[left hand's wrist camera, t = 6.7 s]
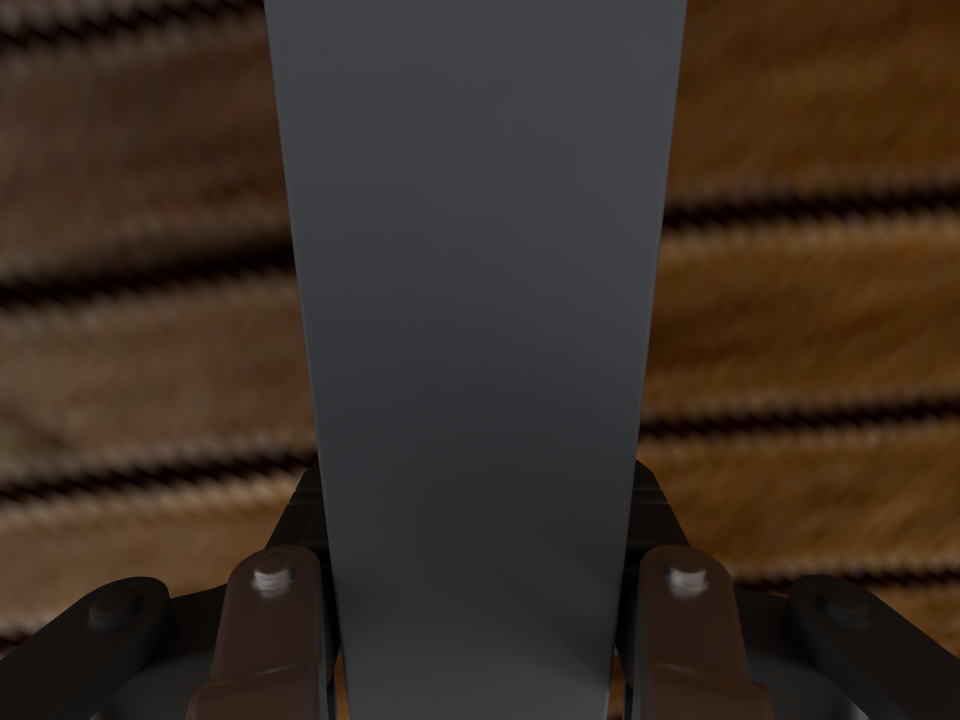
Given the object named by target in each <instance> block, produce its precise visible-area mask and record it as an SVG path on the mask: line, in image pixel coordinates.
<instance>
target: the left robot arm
mask: <svg viewBox="0 0 960 720" xmlns="http://www.w3.org/2000/svg"><path fill="white" fill-rule="evenodd" d="M614 655H619V659H620V663H621V666H622V670H623V674H624V677H625V685H624V696H623V718H622V720H868V717H869V718H870V719H871V720H960V660H959V659H957V658H956V657H955V656H953V655H952V654H951V653H950V652H948V651H947V650H946V649H944V648H943V647H942V646H940V645H939V644H938V643H936V642H935V641H934V640H933V639H931V638H930V637H929V636H927V635H926V634H925V633H923V632H922V631H921V630H919V629H918V628H917V627H916V626H914V625H913V624H912V623H910V622H909V621H908V620H906V619H905V618H904V617H903V616H901V615H900V614H899V613H897V612H896V611H895V610H893V609H892V608H891V607H889V606H888V605H887V604H886V603H884V602H883V601H882V600H880V599H879V598H878V597H876V596H875V595H873V594H872V593H870V592H869V591H867V590H865V589H864V588H862V587H860V586H858V585H856V584H853V583H851V582H848V581H846V580H843V579H839V578H836V577H831V576H825V575H809V576H804V577H801V578H799V579H797V580H796V581H794V582H793V584H792V585H791V587H790V590H789V594H788V598H784V597H779V596H775V595H771V594H766V593H762V592H758V591H754V590H749V589H746V588H742V587H739V586H736V585H734V584H733V582H732V579H731V576H730V575H729V573H728V571H727V570H726V569H725V568H724V566H723V565H722V564H721V563H719V562H718V561H717V560H716V559H714V558H713V557H711V556H710V555H708V554H706V553H704V552H702V551H700V550H697V549H694V548H691V546H690V544H689V542H688V540H687V539H686V537H685V535H684V533H683V531H682V529H681V527H680V525H679V523H678V521H677V519H676V517H675V515H674V513H673V511H672V509H671V507H670V505H669V504H667V500H666V498H665V496H664V494H663V492H662V491H661V490H660V486H659V484H658V482H657V480H656V478H655V476H654V474H653V472H651V471H650V470H649V469H648V468H647V467H645V466H644V465H643V464H642V463H640V462H639V461H638V460H637V459H636V462H635V471H634V480H633V489H632V498H631V507H630V516H629V525H628V534H627V542H626V551H625V560H624V569H623V578H622V587H621V596H620V605H619V614H618V623H617V632H616V640H615V649H614ZM337 656H342V649H341V641H340V633H339V624H338V616H337V608H336V599H335V591H334V583H333V574H332V566H331V558H330V549H329V541H328V533H327V524H326V516H325V508H324V499H323V491H322V483H321V474H320V466H319V461H318V462H317V463H316V464H315V465H313V466H312V467H311V468H310V469H308V470H307V471H306V472H305V473H304V474H303V476H302V478H301V480H300V482H299V484H298V486H297V488H296V492H294V493H293V495H292V497H291V499H290V501H289V505H287V507H286V509H285V511H284V512H283V514H282V516H281V518H280V520H279V522H278V524H277V526H276V528H275V530H274V532H273V534H272V535H271V537H270V539H269V541H268V543H267V545H266V547H265V549H263V550H260V551H258V552H256V553H254V554H252V555H250V556H249V557H247V558H246V559H244V560H243V561H242V562H241V563H239V564H238V565H237V566H236V567H235V569H234V570H233V571H232V573H231V575H230V576H229V579H228V582H227V583H226V584H224V585H221V586H219V587H216V588H213V589H209V590H205V591H201V592H197V593H193V594H188V595H184V596H180V597H175V598H171V599H170V596H169V592H168V589H167V587H166V585H165V584H164V583H163V582H161V581H160V580H158V579H155V578H151V577H131V578H125V579H121V580H118V581H114V582H111V583H109V584H106V585H104V586H102V587H99V588H97V589H95V590H94V591H92V592H90V593H88V594H87V595H85V596H84V597H83V598H81V599H80V600H78V601H77V602H76V603H74V604H73V605H72V606H71V607H69V608H68V609H67V610H65V611H64V612H63V613H61V614H60V615H59V616H57V617H56V618H55V619H54V620H52V621H51V622H50V623H48V624H47V625H46V626H44V627H43V628H42V629H41V630H39V631H38V632H37V633H35V634H34V635H33V636H31V637H30V638H29V639H27V640H26V641H25V642H24V643H22V644H21V645H20V646H18V647H17V648H16V649H14V650H13V651H12V652H10V653H9V654H8V655H7V656H5V657H4V658H3V659H1V660H0V720H338V718H337V697H336V685H335V677H334V667H335V663H336V659H337Z"/></svg>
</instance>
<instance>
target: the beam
mask: <svg viewBox="0 0 960 720" xmlns="http://www.w3.org/2000/svg"><path fill="white" fill-rule="evenodd" d="M264 7H265V16H266V24H267V32H268V41H269V49H270V57H271V66H272V74H273V82H274V91H275V99H276V107H277V116H278V124H279V132H280V141H281V149H282V157H283V166H284V174H285V182H286V191H287V199H288V207H289V216H290V224H291V233H292V241H293V249H294V258H295V266H296V274H297V283H298V291H299V299H300V308H301V316H302V324H303V333H304V341H305V349H306V358H307V366H308V374H309V383H310V391H311V399H312V408H313V416H314V424H315V433H316V441H317V449H318V458H319V466H320V474H321V483H322V491H323V499H324V508H325V516H326V524H327V533H328V541H329V549H330V558H331V566H332V574H333V583H334V591H335V599H336V608H337V616H338V624H339V633H340V641H341V649H342V658H343V666H344V674H345V683H346V691H347V699H348V708H349V716H350V720H607V712H608V703H609V694H610V685H611V676H612V667H613V658H614V649H615V640H616V632H617V623H618V614H619V605H620V596H621V587H622V578H623V569H624V560H625V551H626V542H627V534H628V525H629V516H630V507H631V498H632V489H633V480H634V471H635V462H636V453H637V444H638V435H639V427H640V418H641V409H642V400H643V391H644V382H645V373H646V364H647V355H648V346H649V337H650V329H651V320H652V311H653V302H654V293H655V284H656V275H657V266H658V257H659V248H660V239H661V230H662V222H663V213H664V204H665V195H666V186H667V177H668V168H669V159H670V150H671V141H672V132H673V123H674V115H675V106H676V97H677V88H678V79H679V70H680V61H681V52H682V43H683V34H684V25H685V17H686V8H687V0H264Z"/></svg>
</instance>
